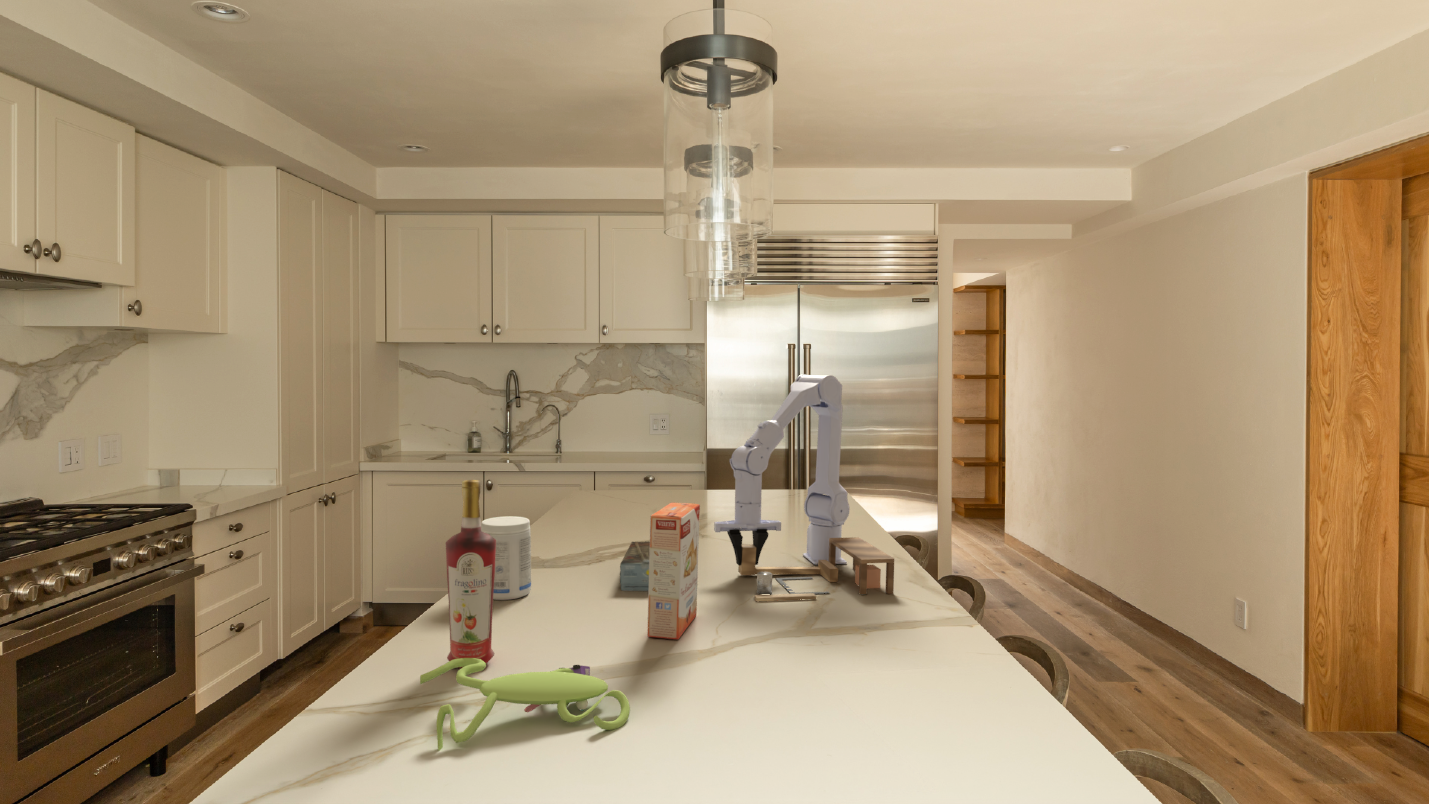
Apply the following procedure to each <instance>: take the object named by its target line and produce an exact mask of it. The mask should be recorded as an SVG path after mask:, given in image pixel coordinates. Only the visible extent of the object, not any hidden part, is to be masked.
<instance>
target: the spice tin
mask: <svg viewBox="0 0 1429 804" xmlns="http://www.w3.org/2000/svg"><path fill="white" fill-rule="evenodd" d="M756 575H757V576H756V577H757V578H756V594H757V593H758V594H757V595H759V594H771V595H773V574H772V573H770V572H758V573H757V574H756Z"/></svg>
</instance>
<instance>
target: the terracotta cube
mask: <svg viewBox="0 0 1429 804" xmlns="http://www.w3.org/2000/svg"><path fill="white" fill-rule="evenodd" d="M881 570H882V569H881V568H880V567H879V566H876V565H875V564H867V589H881V576H882V575H881V573H882V571H881ZM855 583H856V584H857V585H856V584H855ZM854 584H855V585H856V586H858V585H859V565H856V567H855V570H854Z"/></svg>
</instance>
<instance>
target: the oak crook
mask: <svg viewBox="0 0 1429 804" xmlns="http://www.w3.org/2000/svg"><path fill="white" fill-rule="evenodd" d="M741 554H742V563H741V565H738V566H737V567H738V569H737V570H738V571H737V572H738V573H739V574H740V575H741V576H755V575H757V573H758V572H770V573H772V575H820V576H822V577H823V578H824V579H825V580H826V581H828V582H829V583H838V580H839V568H838V567H837V566H836V565H835V566H834V565H832V564H831V563H830V562H828V561H827V560H818V564H817V566H756V565H755V562H756V547H755V546H754V545H753V543H751V544H748V543H747V544H746V543H745V544H743V543H742V549H741Z"/></svg>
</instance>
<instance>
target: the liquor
mask: <svg viewBox="0 0 1429 804" xmlns="http://www.w3.org/2000/svg"><path fill="white" fill-rule="evenodd" d="M480 494H481V480H480V479H479V480H478V479H466V480H462V481H461V495H462V500H463V501H462V502H463V503H462V504H463V505H462V515H461V525H460V532H458V533H456V534H454V535H452V536H451V537H449V538H448V539H447V540H446V541H445V554H446V555H445V557H446V558H445V560H446V561H445V562H446V580H447V582H446V583H447V595H448V596H447V599H448V616H449V620H448V621H449V649H450V650H449V653H448V655H447V657H446V660H447V661H448V662H449V661H451V660H454V659H460V658H476V659H481V660H482V661H484V662H485V663H486V665H487V664H488V663H489V662H490V660H492V658H493V657H494V656H495V652H494V651H493V649H492V638H493V637H492V632H493V631H492V630H493V629H492V628H493V607H494V606H493V605H494V604H493V603H494V599H493V592H494V577H495V555H496V539H494V538H493V537H492V536H491V535H489V534H487V533H484V532H482V531H481V523H482V519H481V512H480V511H481V510H480V498H481V497H480ZM457 668H458V670H460V669H461V668H463V667H457Z"/></svg>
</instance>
